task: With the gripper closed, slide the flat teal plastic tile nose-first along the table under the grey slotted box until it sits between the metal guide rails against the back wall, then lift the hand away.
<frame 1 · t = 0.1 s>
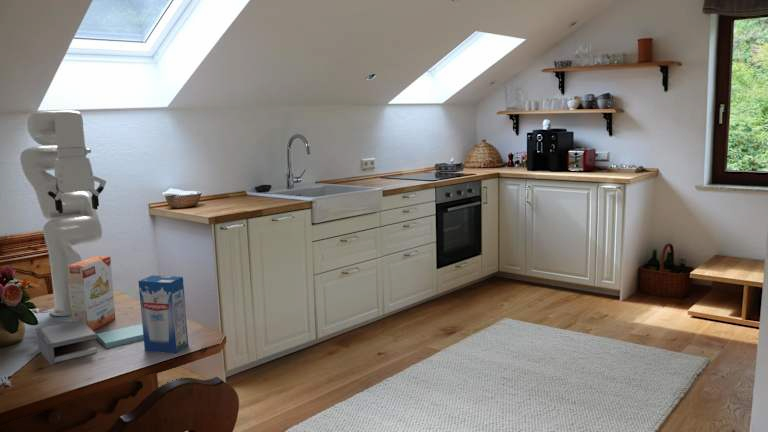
hand: (78, 210, 196), 37 cm above the table, tool pointing down, fingers open, 9 cm apart
milk carton: (166, 348, 184), on the table
tile: (129, 338, 194), on the table
cracker box: (95, 326, 205), on the table
grey slotted box: (75, 349, 185), on the table
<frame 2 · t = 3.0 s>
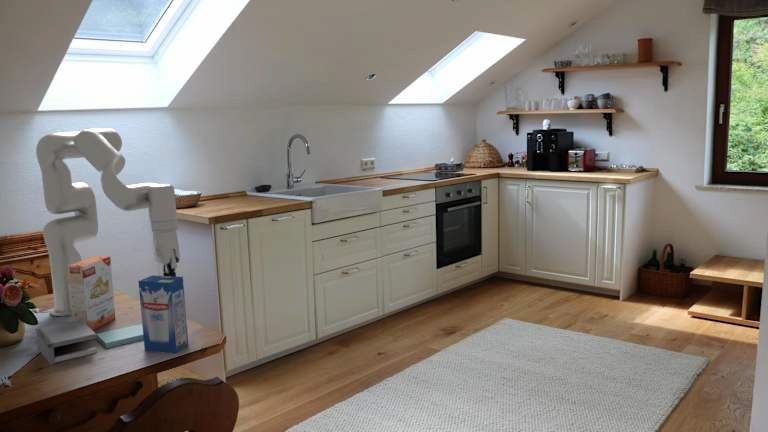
hand: (170, 284, 199), 13 cm above the table, tool pointing down, fingers closed
nothing on the table moved.
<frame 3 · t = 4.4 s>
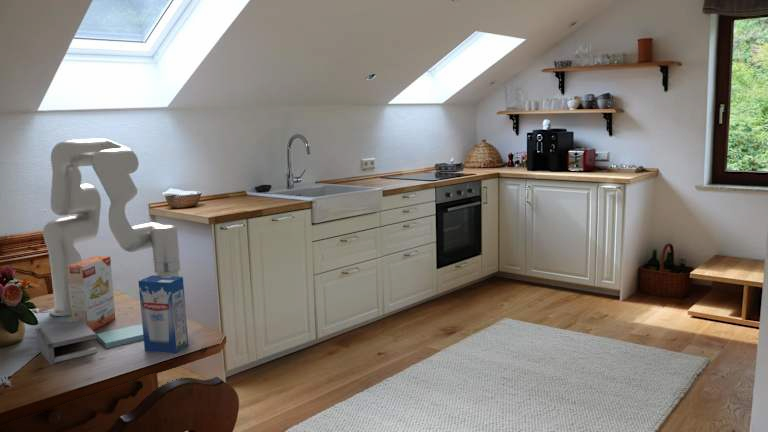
hand: (172, 324, 201), 1 cm above the table, tool pointing down, fingers closed
nothing on the table moved.
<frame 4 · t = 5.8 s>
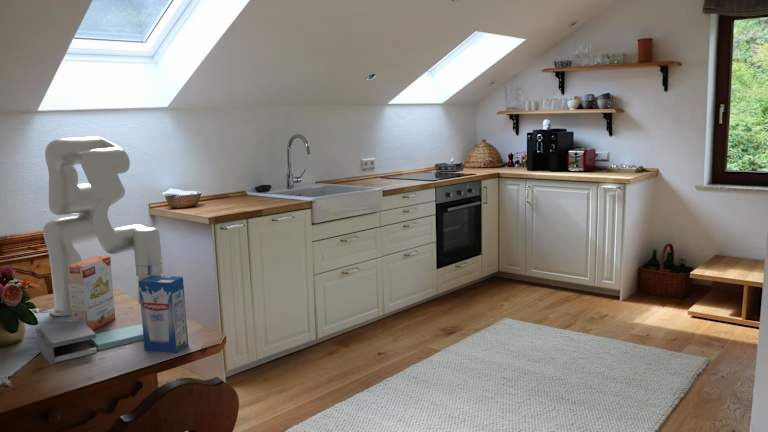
hand: (154, 328, 198), 1 cm above the table, tool pointing down, fingers closed
tile: (122, 340, 193), on the table
everything else where it was.
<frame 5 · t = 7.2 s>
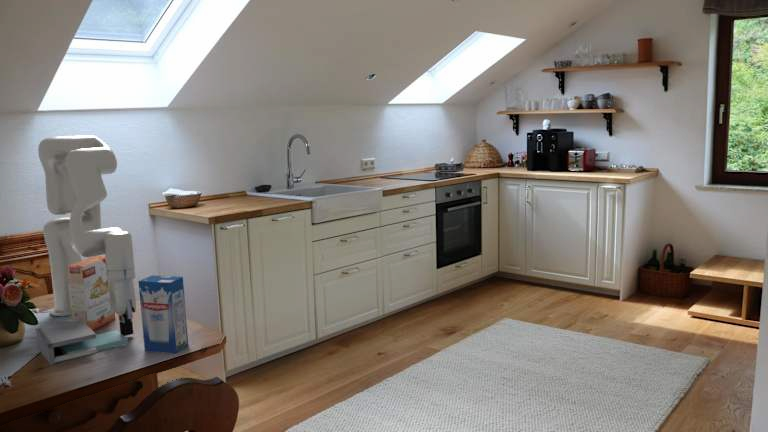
hand: (127, 334, 193), 1 cm above the table, tool pointing down, fingers closed
tile: (93, 347, 187), on the table
everything else where it was.
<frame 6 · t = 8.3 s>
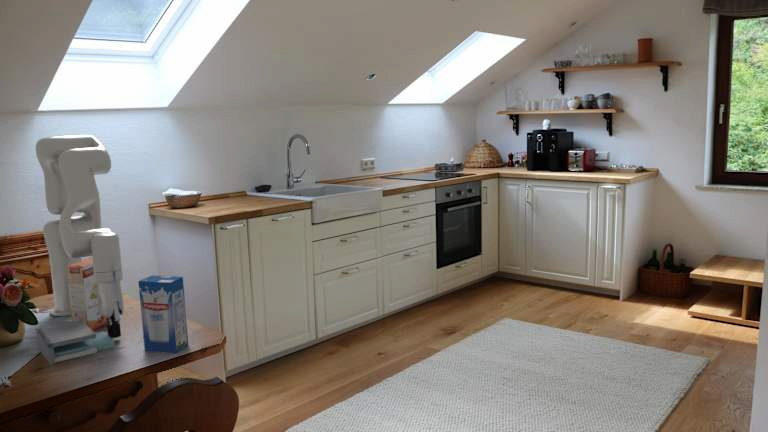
hand: (114, 336, 191), 1 cm above the table, tool pointing down, fingers closed
tile: (80, 349, 185), on the table, touching gripper, grey slotted box
everything else where it was.
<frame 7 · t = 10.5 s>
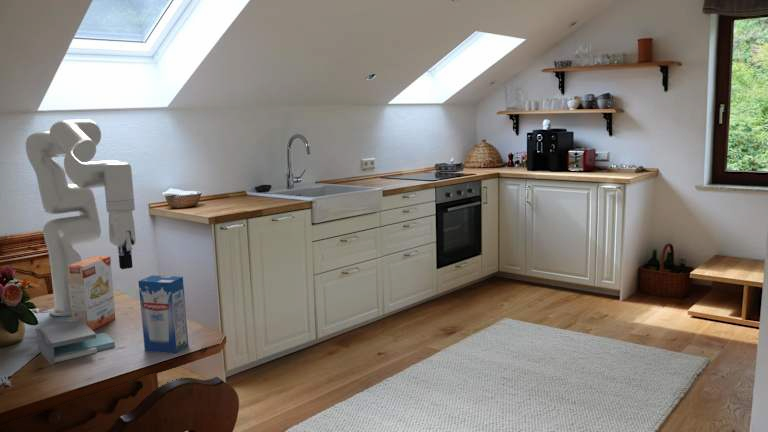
hand: (126, 267, 191), 21 cm above the table, tool pointing down, fingers closed
tile: (80, 350, 185), on the table
everything else where it was.
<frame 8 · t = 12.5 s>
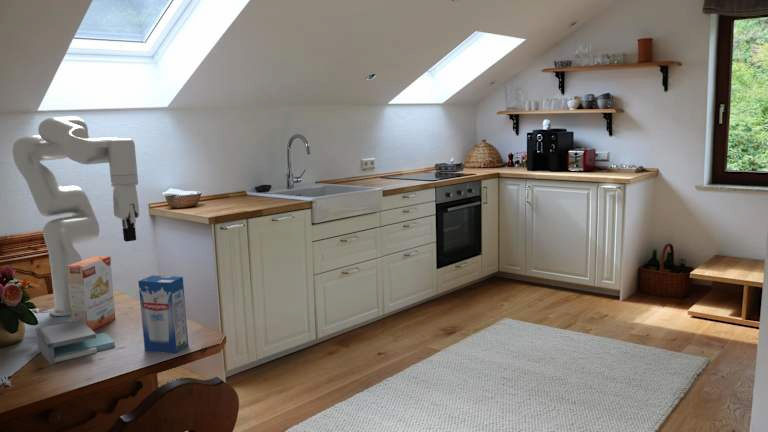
hand: (130, 240, 199), 27 cm above the table, tool pointing down, fingers closed
nothing on the table moved.
at the end: tile 0.4 cm from the target spot on the grey slotted box, point -0.6 cm above the grey slotted box's base; tile tilted 0° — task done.
